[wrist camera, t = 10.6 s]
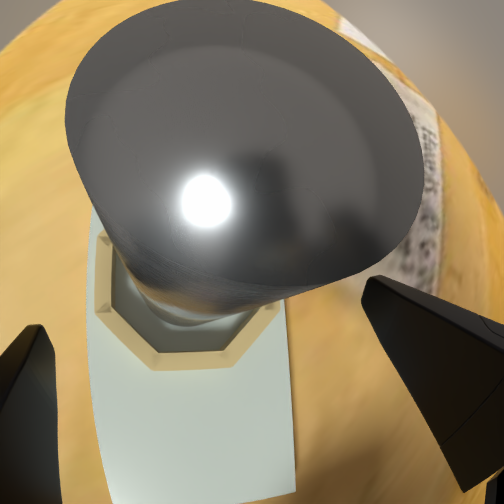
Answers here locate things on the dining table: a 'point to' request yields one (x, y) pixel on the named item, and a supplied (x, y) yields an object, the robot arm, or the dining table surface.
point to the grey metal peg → (240, 155)
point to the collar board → (185, 395)
